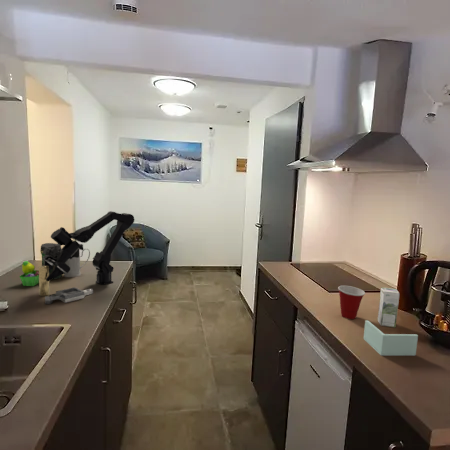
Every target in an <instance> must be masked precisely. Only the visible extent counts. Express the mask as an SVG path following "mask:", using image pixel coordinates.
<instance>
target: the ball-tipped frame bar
mask: <svg viewBox="0 0 450 450" xmlns="http://www.w3.org/2000/svg"><path fill="white" fill-rule="evenodd" d="M92 294H94V289H93V288H87V289H85V290H82V289H81V288H78V287H75V286H73V287H69V288H66V289H61V290H57V291H55V293H52V294H49V295H47V296H44V302H45V303H44V304H45V305H52V304H53V301H55V300H59V301H61V302H63V303H70V302H74V301H78V300H82V299H85V296H88V295H92Z"/></svg>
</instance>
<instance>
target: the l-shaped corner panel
mask: <svg viewBox="0 0 450 450" xmlns="http://www.w3.org/2000/svg"><path fill="white" fill-rule="evenodd" d="M363 328H364V329H363V330H364V331H363V340H364V341H365V342H366V343H367V344H368V345H369V346H370V347H371V348H373V349H374V350H375V352H376V353H378V354H379V355H380V356H417V347H418V339H419V335H418V334H416V333H415V334H414V333H413V334H412V333H411V334H408V333H407V334H406V333H401V334H400V333H390V334H389V333H384V332H383V331H382V330H380V329H379V328H378V327H377V326H376V325H374V324H373V323H372V322H371V321H370V320H368V319H367V320H364V327H363Z"/></svg>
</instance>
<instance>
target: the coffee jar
mask: <svg viewBox="0 0 450 450" xmlns="http://www.w3.org/2000/svg"><path fill="white" fill-rule="evenodd" d="M45 247H47V248H50V249H52V248H55V249H62V245H59V244H58V243H56V242H55V243H54V242H46V243H42V244H41V245H40V254H41V266H43V265H44V263H43V260H44V259H43V257H44V256H45V254H43V251H44V249H45ZM52 270H53V269H52ZM52 270H50V271H49V274H50V273H51V272H52ZM62 276H63V275H60V276H58V277H56V278H54V279H53V280H56V279H57V280H58V279H60V278H62Z"/></svg>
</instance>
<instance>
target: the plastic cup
mask: <svg viewBox="0 0 450 450" xmlns="http://www.w3.org/2000/svg"><path fill="white" fill-rule="evenodd" d="M337 290H338V294H339V304H340V315H341V318H345V319H348V320H355V319H356V318H357V315H358V311H359V308H360V306H361V302H362V299H363V298H364V296H365V295H366V292H365V291H364V290H363V289H361V288H358V287H355V286H351V285H340V286H338V287H337Z"/></svg>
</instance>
